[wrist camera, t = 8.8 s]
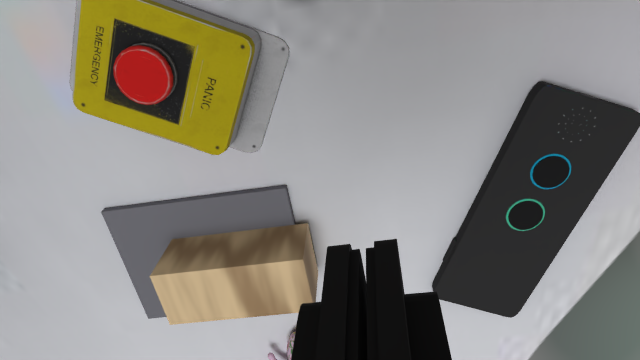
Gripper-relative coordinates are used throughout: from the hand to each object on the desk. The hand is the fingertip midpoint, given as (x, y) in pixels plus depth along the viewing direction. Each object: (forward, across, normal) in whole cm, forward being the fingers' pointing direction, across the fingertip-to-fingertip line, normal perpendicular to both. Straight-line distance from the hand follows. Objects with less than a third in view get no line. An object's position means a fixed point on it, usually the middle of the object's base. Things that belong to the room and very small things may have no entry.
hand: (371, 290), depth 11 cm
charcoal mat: (+23, +16, +15) cm, 32 cm away
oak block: (+20, +7, +15) cm, 26 cm away
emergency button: (+24, +14, -2) cm, 28 cm away
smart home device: (+25, -11, +14) cm, 30 cm away
